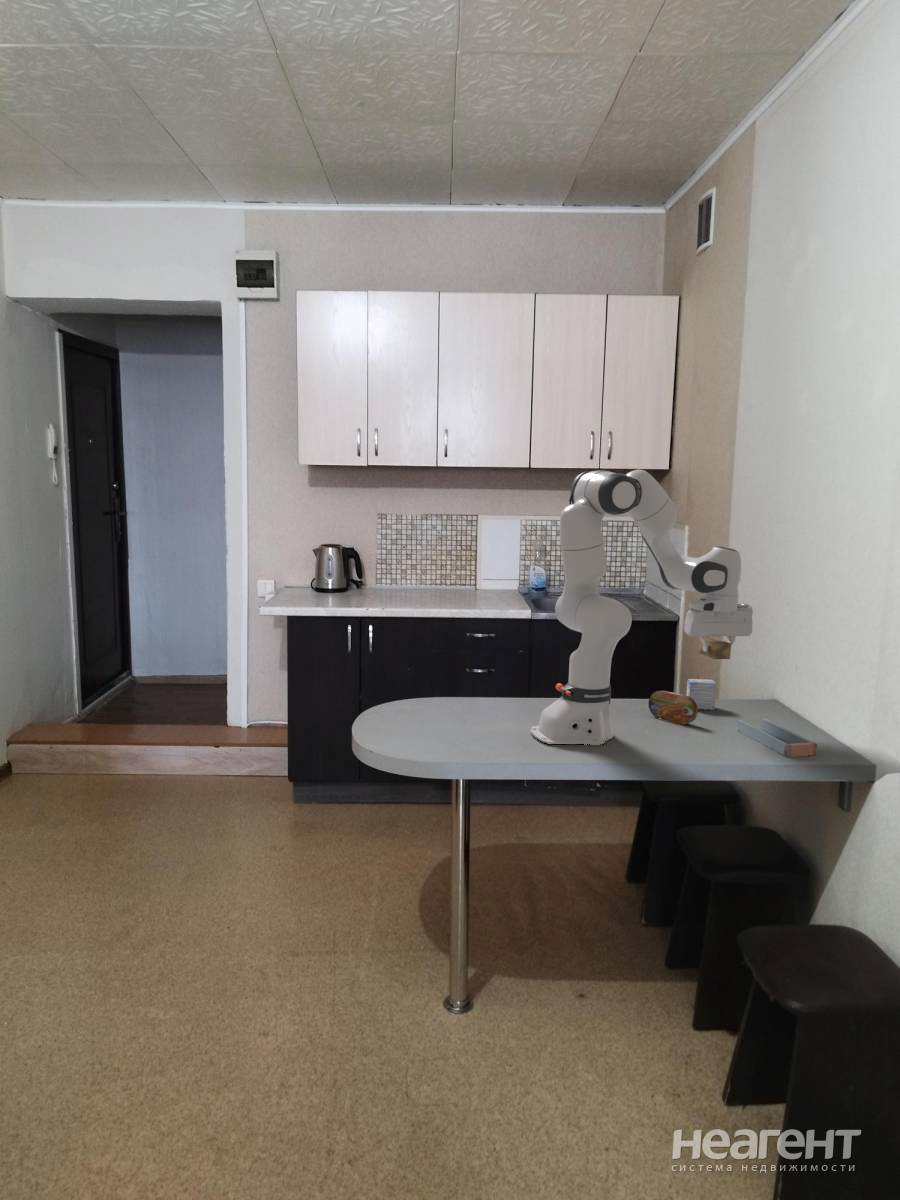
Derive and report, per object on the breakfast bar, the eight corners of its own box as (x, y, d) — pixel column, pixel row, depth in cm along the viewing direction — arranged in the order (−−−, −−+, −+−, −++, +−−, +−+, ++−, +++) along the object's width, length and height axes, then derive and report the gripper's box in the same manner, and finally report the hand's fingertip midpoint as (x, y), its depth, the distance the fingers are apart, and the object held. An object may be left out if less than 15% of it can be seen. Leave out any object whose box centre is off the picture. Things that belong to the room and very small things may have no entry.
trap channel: (787, 757, 208) (788, 746, 207) (737, 730, 229) (738, 720, 229) (816, 754, 210) (817, 743, 210) (764, 728, 231) (765, 718, 231)
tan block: (714, 659, 230) (715, 643, 229) (699, 653, 238) (700, 638, 237) (729, 659, 231) (731, 643, 231) (714, 653, 239) (715, 638, 238)
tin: (647, 715, 241) (648, 688, 240) (652, 713, 244) (654, 686, 242) (692, 728, 231) (694, 699, 229) (698, 725, 233) (700, 697, 232)
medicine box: (711, 706, 252) (713, 679, 251) (714, 710, 248) (716, 683, 246) (685, 705, 253) (687, 678, 252) (688, 709, 249) (689, 682, 247)
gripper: (746, 602, 237) (741, 648, 239) (683, 601, 232) (679, 648, 234) (759, 605, 231) (754, 653, 233) (695, 605, 226) (690, 653, 228)
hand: (716, 651), depth 234 cm, fingers closed on tan block, 5 cm apart
